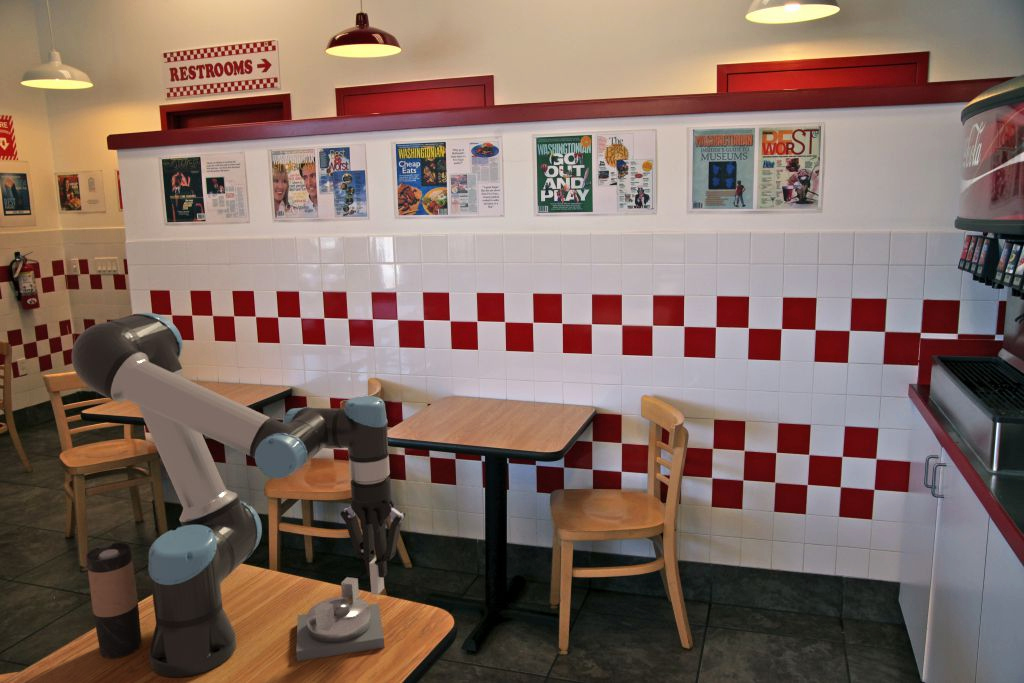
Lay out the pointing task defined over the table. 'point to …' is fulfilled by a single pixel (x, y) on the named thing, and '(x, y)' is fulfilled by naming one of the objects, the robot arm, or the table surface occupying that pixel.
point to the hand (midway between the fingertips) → (377, 590)
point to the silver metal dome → (340, 615)
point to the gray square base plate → (318, 649)
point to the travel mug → (114, 599)
